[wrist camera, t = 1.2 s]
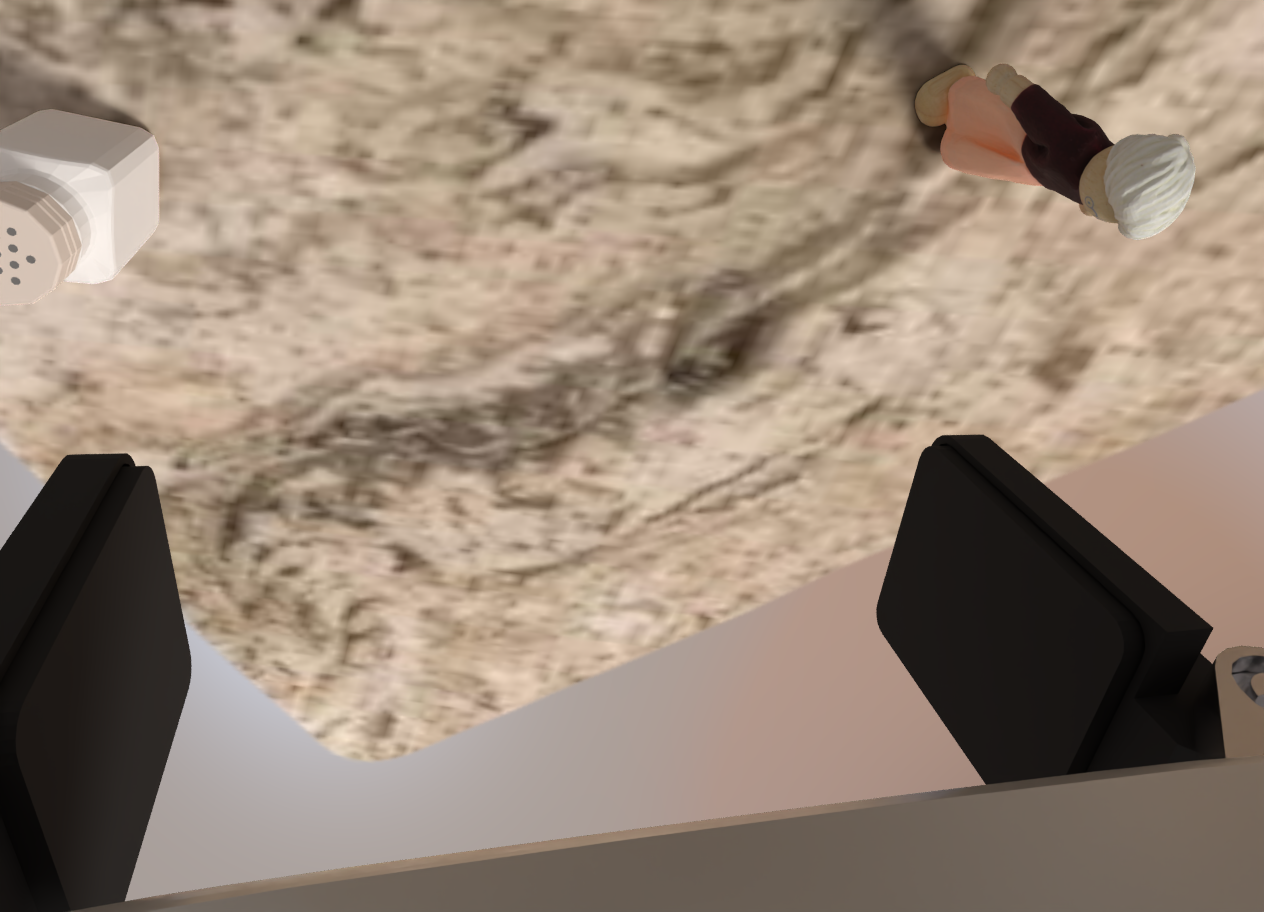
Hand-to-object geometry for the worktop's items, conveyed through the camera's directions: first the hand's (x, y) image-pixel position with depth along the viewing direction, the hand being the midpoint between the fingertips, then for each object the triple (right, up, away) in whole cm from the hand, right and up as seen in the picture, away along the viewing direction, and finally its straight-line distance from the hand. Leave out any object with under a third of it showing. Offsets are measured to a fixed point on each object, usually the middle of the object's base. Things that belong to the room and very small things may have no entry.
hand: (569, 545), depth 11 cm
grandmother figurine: (+15, +16, +27) cm, 35 cm away
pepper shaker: (-19, +12, +22) cm, 31 cm away
